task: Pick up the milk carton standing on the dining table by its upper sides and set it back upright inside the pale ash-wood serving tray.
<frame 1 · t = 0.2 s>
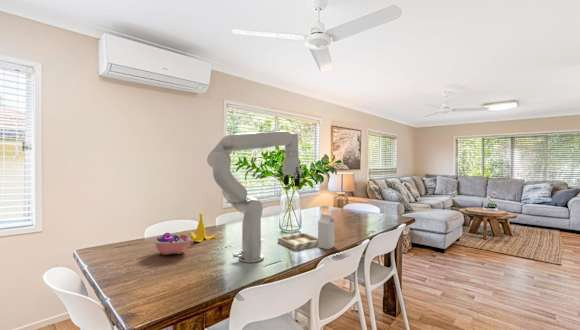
hand: (291, 185, 157), 37 cm above the table, tool pointing down, fingers open, 9 cm apart
panda figurine: (254, 240, 177), on the table
cell model: (172, 254, 151), on the table
milk carton: (326, 247, 164), on the table
serving tray: (299, 243, 171), on the table
banana peel: (204, 239, 179), on the table
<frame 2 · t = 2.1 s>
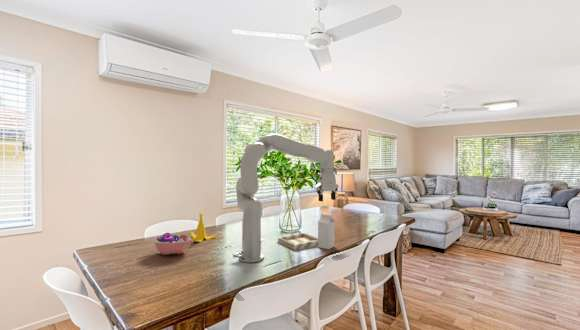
hand: (327, 200, 164), 27 cm above the table, tool pointing down, fingers open, 9 cm apart
nothing on the table moved.
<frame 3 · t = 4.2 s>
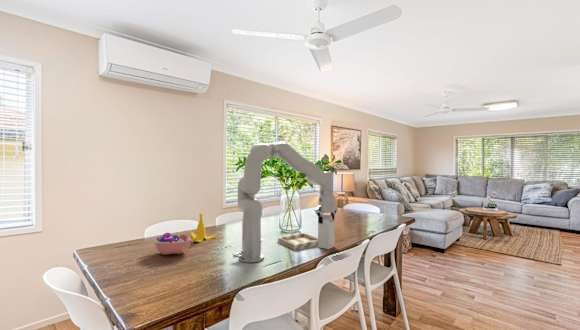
hand: (326, 222, 164), 15 cm above the table, tool pointing down, fingers closed on milk carton, 8 cm apart
milk carton: (326, 247, 164), on the table, touching gripper
everything else where it was.
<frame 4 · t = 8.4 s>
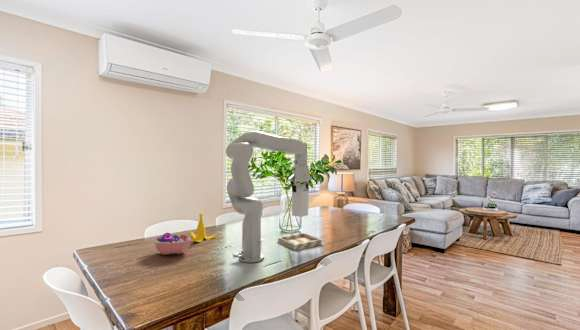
hand: (300, 191, 170), 32 cm above the table, tool pointing down, fingers closed on milk carton, 8 cm apart
milk carton: (300, 215, 170), point 17 cm above the table, touching gripper
everything else where it was.
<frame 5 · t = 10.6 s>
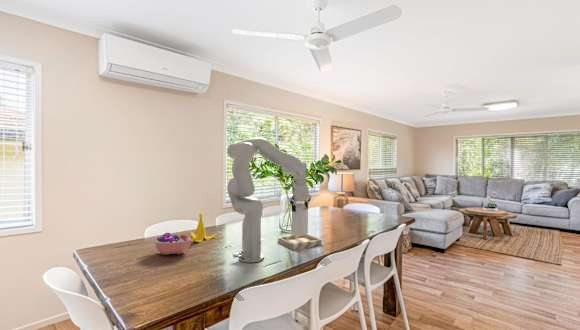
hand: (299, 210, 170), 20 cm above the table, tool pointing down, fingers closed on milk carton, 8 cm apart
milk carton: (299, 234, 171), point 5 cm above the table, touching gripper
everything else where it was.
when the fingers open (16 cm above the table, at t = 12.5 s): milk carton stays where it is, resting on serving tray.
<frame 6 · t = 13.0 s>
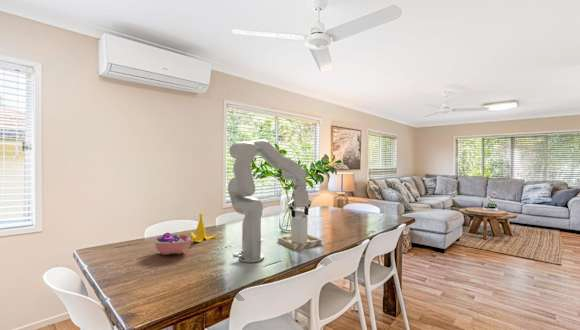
hand: (299, 216, 170), 17 cm above the table, tool pointing down, fingers open, 9 cm apart
milk carton: (299, 242, 170), point 1 cm above the table, touching serving tray
everything else where it was.
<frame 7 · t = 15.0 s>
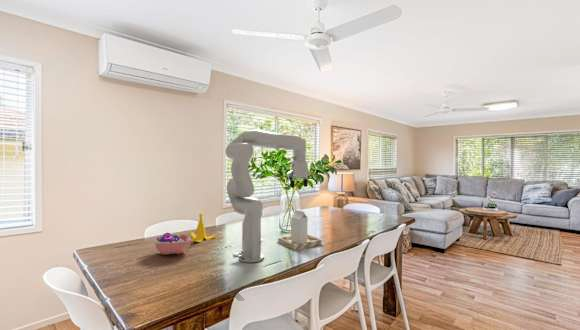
hand: (299, 187, 170), 34 cm above the table, tool pointing down, fingers open, 9 cm apart
nothing on the table moved.
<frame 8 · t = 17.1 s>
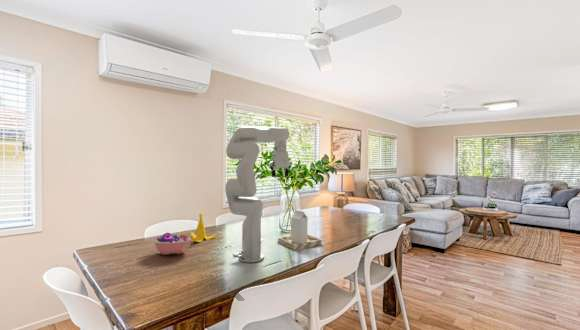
hand: (280, 176, 177), 40 cm above the table, tool pointing down, fingers open, 9 cm apart
nothing on the table moved.
at the end: milk carton inside the target area on the serving tray (0.3 cm from its centre), point 0.8 cm above the serving tray's base; milk carton tilted 0°; the gripper is holding nothing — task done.
